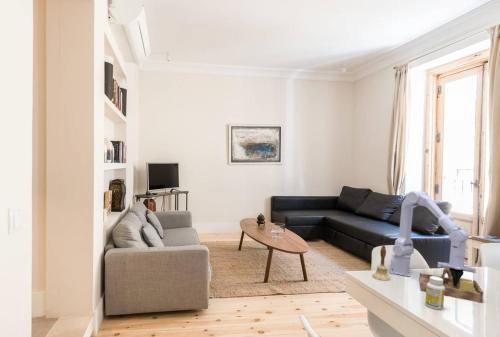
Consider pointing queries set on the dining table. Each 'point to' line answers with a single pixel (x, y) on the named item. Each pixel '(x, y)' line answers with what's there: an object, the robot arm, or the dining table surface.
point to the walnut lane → (454, 288)
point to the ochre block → (465, 284)
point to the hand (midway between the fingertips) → (455, 285)
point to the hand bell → (382, 268)
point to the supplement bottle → (435, 293)
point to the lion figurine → (446, 270)
